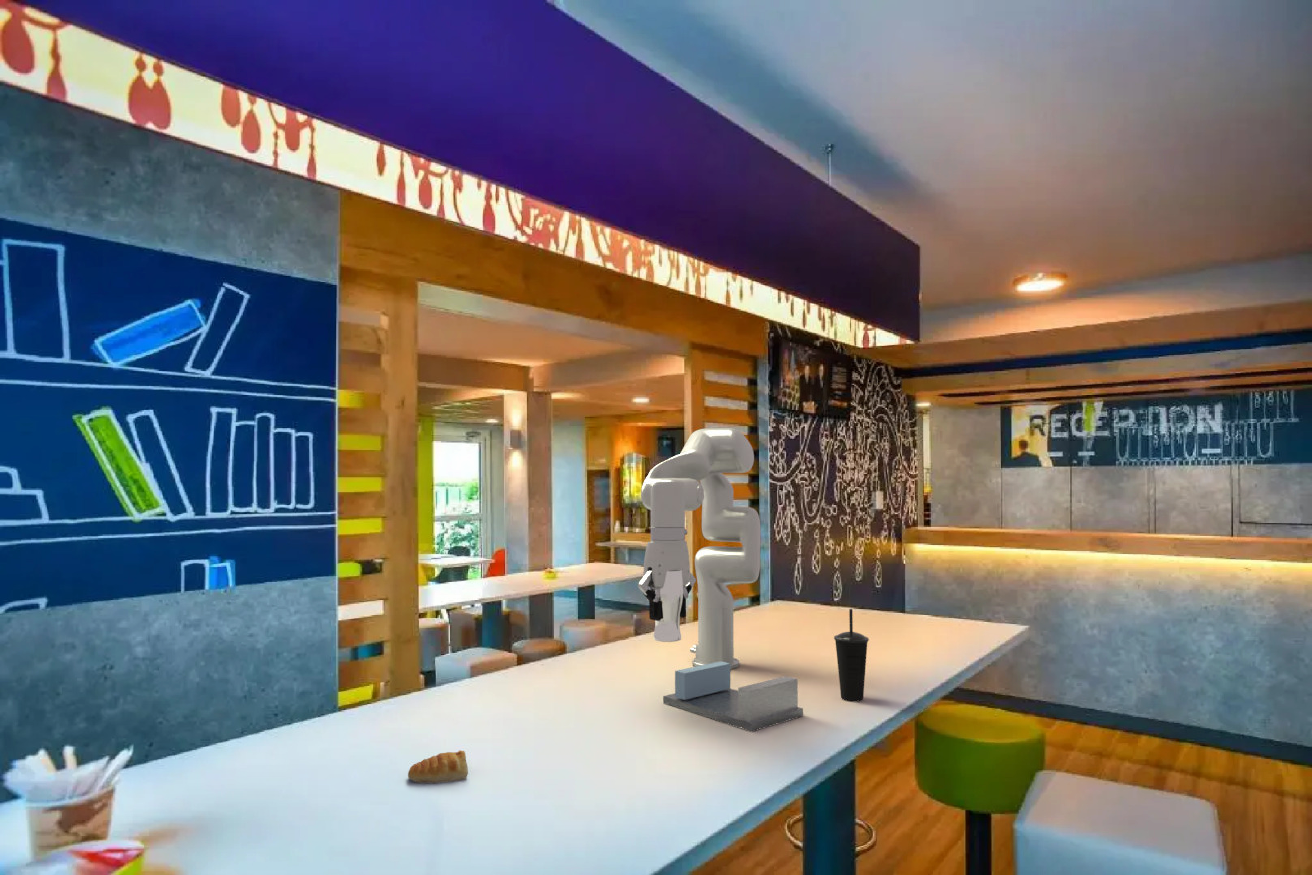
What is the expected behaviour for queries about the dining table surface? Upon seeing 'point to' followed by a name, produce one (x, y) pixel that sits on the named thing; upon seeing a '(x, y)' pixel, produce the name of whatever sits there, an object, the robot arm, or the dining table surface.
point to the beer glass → (670, 608)
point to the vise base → (726, 709)
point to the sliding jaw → (702, 680)
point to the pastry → (440, 768)
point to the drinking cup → (851, 662)
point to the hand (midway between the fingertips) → (667, 617)
